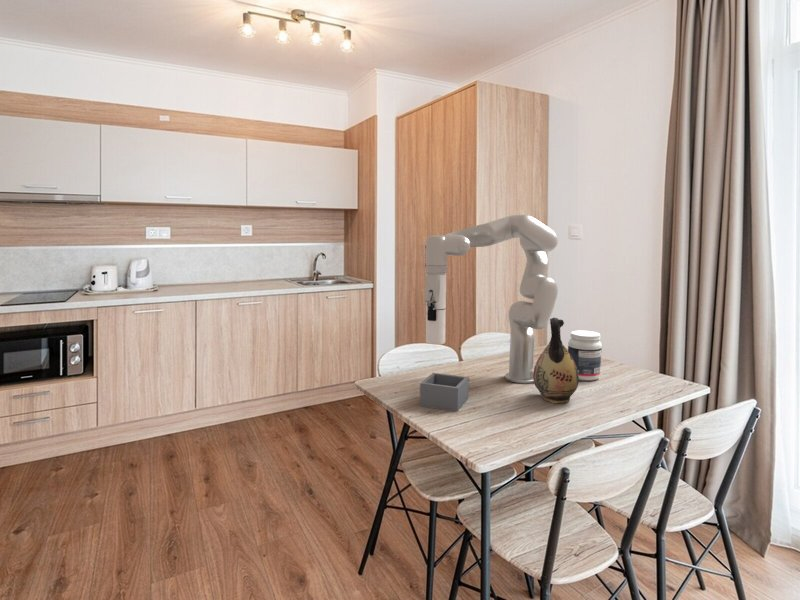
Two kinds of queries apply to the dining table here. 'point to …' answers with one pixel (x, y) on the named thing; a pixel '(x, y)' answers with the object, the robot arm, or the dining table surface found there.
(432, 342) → the cylindrical container
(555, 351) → the ceramic jug
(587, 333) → the supplement tub
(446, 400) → the square well
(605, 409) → the dining table surface
